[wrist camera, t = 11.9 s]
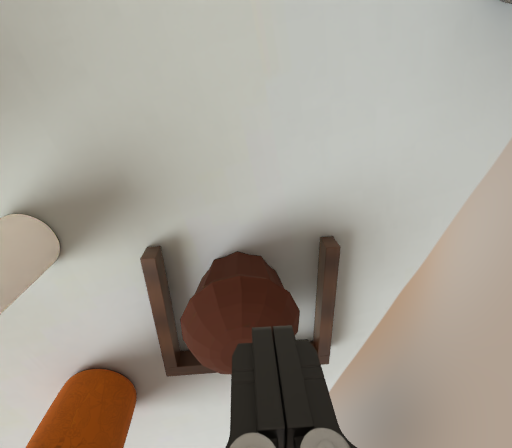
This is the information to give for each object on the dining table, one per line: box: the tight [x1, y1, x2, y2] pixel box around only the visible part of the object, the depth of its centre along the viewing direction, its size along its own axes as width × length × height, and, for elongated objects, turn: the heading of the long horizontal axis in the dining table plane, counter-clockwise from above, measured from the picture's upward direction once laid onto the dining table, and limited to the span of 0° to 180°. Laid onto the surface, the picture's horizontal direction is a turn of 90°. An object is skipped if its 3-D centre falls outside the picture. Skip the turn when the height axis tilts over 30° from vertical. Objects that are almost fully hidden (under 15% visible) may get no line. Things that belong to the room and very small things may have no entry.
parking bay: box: [140, 236, 340, 376], centre depth 35 cm, size 17×20×2 cm
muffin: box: [180, 251, 300, 374], centre depth 30 cm, size 12×11×10 cm
